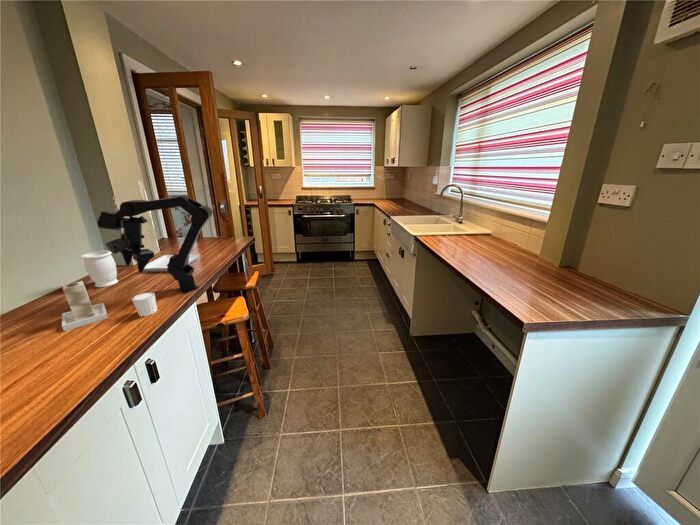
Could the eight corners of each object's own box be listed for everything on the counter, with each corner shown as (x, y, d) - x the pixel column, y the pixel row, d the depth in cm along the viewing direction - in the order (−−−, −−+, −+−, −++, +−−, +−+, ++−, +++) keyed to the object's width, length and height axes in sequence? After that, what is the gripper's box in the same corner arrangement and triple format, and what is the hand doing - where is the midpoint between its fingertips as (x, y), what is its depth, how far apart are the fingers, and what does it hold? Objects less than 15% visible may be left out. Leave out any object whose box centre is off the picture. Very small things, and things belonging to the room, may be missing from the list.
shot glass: (148, 318, 101) (142, 301, 98) (132, 317, 102) (126, 299, 100) (163, 309, 107) (159, 292, 105) (148, 307, 108) (143, 291, 106)
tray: (104, 307, 109) (103, 302, 109) (108, 318, 101) (106, 313, 101) (63, 318, 102) (61, 313, 101) (64, 331, 94) (61, 326, 93)
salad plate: (181, 273, 142) (179, 267, 141) (139, 274, 142) (138, 268, 141) (202, 259, 162) (201, 254, 161) (166, 260, 162) (164, 254, 161)
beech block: (94, 311, 105) (82, 280, 100) (94, 316, 101) (82, 284, 97) (75, 316, 101) (63, 284, 97) (76, 321, 98) (62, 288, 94)
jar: (87, 286, 128) (75, 255, 123) (112, 278, 137) (102, 249, 132) (101, 290, 124) (89, 258, 119) (126, 281, 133) (116, 251, 128)
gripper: (95, 227, 108) (98, 265, 113) (121, 240, 101) (123, 280, 105) (128, 225, 118) (130, 260, 122) (154, 237, 110) (155, 274, 115)
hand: (134, 268), depth 116 cm, fingers open, 9 cm apart
